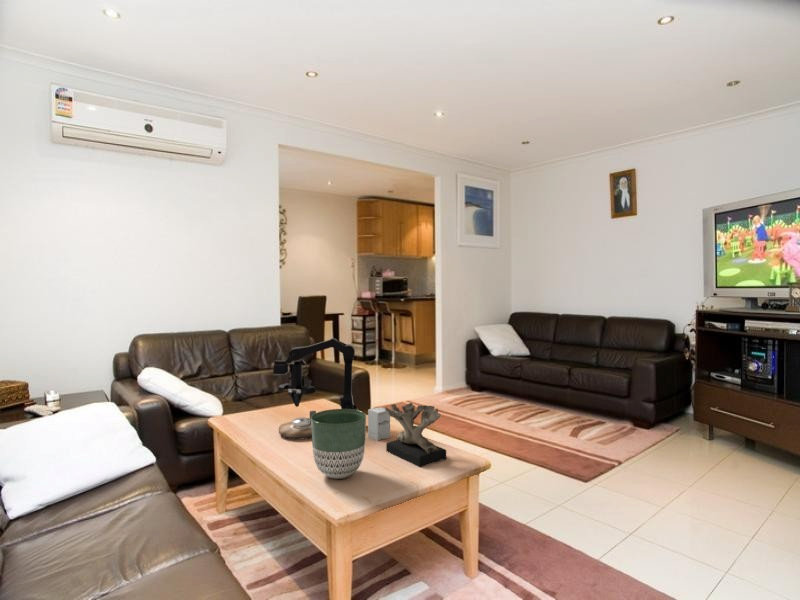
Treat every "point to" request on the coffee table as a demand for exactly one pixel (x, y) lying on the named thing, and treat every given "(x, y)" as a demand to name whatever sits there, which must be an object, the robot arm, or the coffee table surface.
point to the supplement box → (378, 423)
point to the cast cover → (301, 423)
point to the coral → (415, 436)
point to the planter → (338, 441)
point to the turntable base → (298, 437)
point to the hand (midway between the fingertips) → (297, 406)
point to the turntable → (289, 431)
